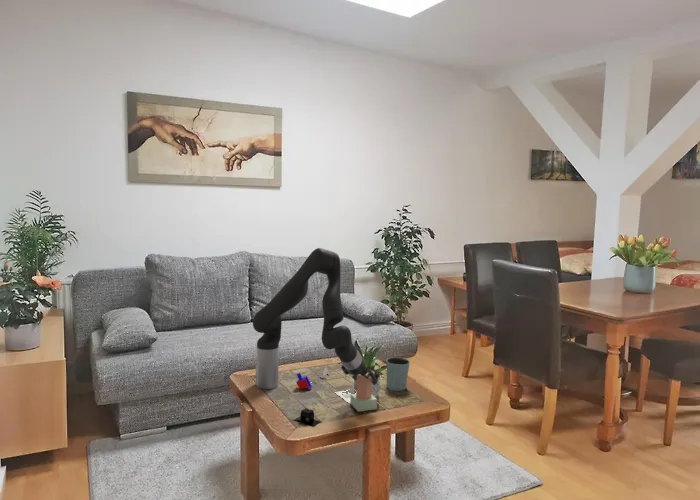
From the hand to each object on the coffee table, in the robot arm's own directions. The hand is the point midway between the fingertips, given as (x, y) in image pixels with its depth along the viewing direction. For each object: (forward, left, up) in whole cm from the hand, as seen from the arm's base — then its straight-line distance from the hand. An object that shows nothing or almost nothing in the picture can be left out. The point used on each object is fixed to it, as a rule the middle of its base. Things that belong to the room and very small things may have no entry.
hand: (365, 380), depth 205 cm
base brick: (-1, -1, -10) cm, 10 cm away
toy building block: (-18, +24, -10) cm, 32 cm away
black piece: (-26, -6, -11) cm, 29 cm away
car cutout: (-7, +32, -11) cm, 35 cm away
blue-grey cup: (+21, +13, -10) cm, 27 cm away
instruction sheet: (-2, +10, -10) cm, 15 cm away
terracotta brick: (-1, -1, -6) cm, 6 cm away
